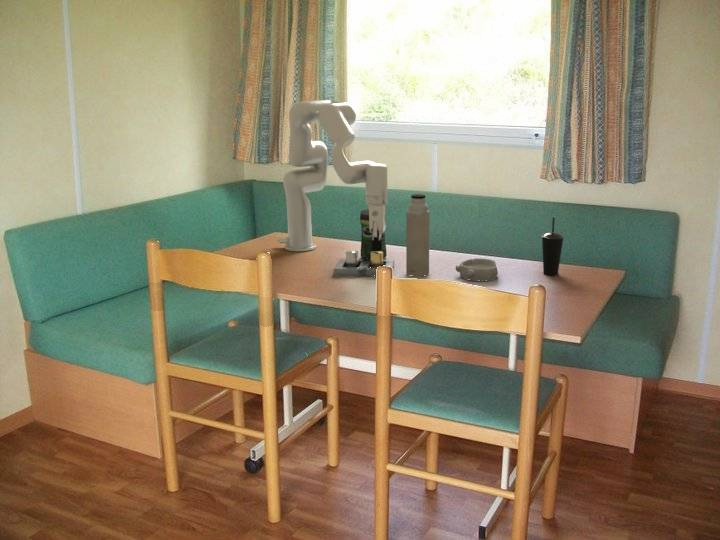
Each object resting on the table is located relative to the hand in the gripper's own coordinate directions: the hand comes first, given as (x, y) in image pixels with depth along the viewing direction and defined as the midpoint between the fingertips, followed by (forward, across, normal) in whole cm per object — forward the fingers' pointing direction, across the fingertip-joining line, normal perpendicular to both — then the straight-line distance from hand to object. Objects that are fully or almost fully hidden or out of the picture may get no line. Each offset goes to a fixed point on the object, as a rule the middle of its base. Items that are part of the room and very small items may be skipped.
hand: (376, 250), depth 273 cm
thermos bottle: (+8, -2, -15) cm, 17 cm away
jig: (+8, 0, +4) cm, 9 cm away
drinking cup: (+8, +1, -61) cm, 61 cm away
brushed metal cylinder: (+8, 0, +9) cm, 12 cm away
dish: (+8, -4, -36) cm, 37 cm away
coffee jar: (+8, +19, +3) cm, 21 cm away
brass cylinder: (+8, 0, 0) cm, 8 cm away
